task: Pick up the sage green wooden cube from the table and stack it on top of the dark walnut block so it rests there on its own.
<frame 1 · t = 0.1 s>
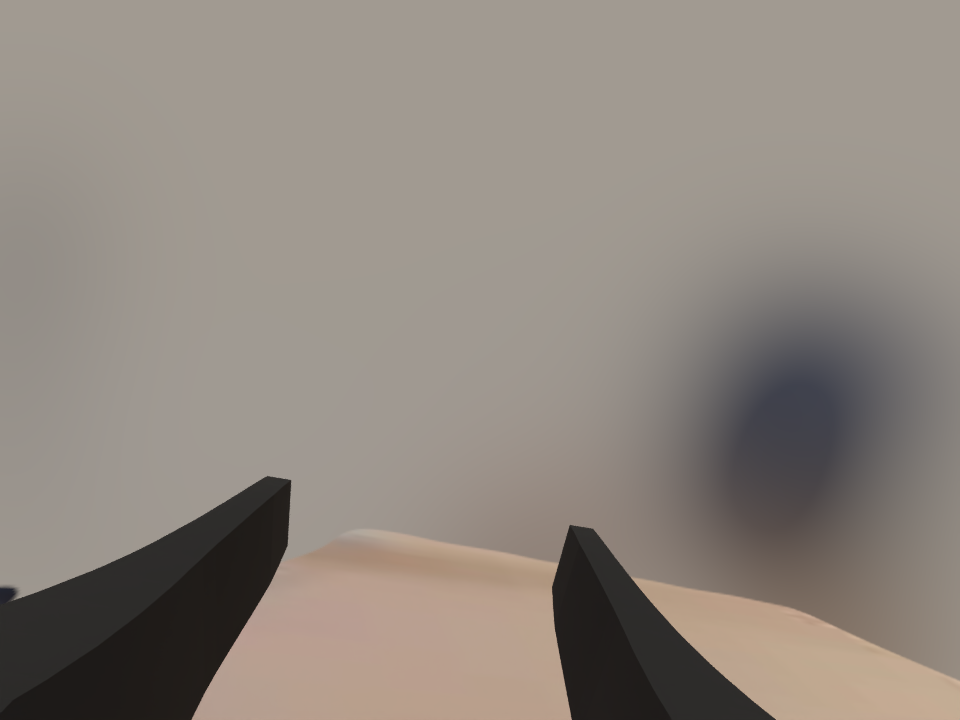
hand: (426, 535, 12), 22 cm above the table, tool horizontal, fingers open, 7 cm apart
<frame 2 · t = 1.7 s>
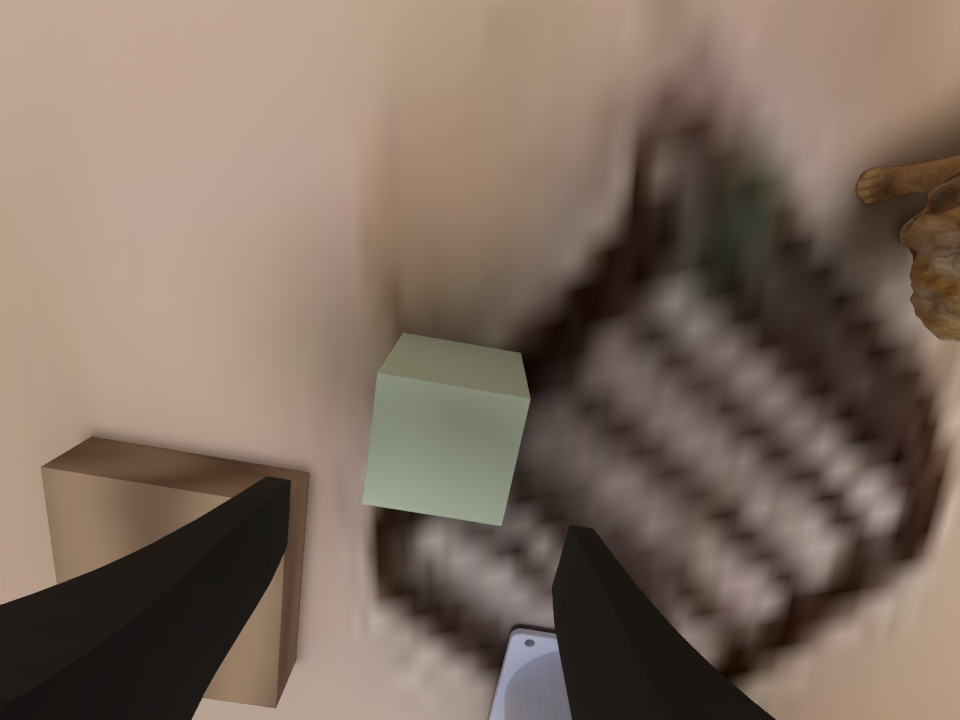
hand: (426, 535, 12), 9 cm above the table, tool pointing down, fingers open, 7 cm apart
walnut block: (207, 552, 24), on the table
sage cube: (453, 396, 21), on the table
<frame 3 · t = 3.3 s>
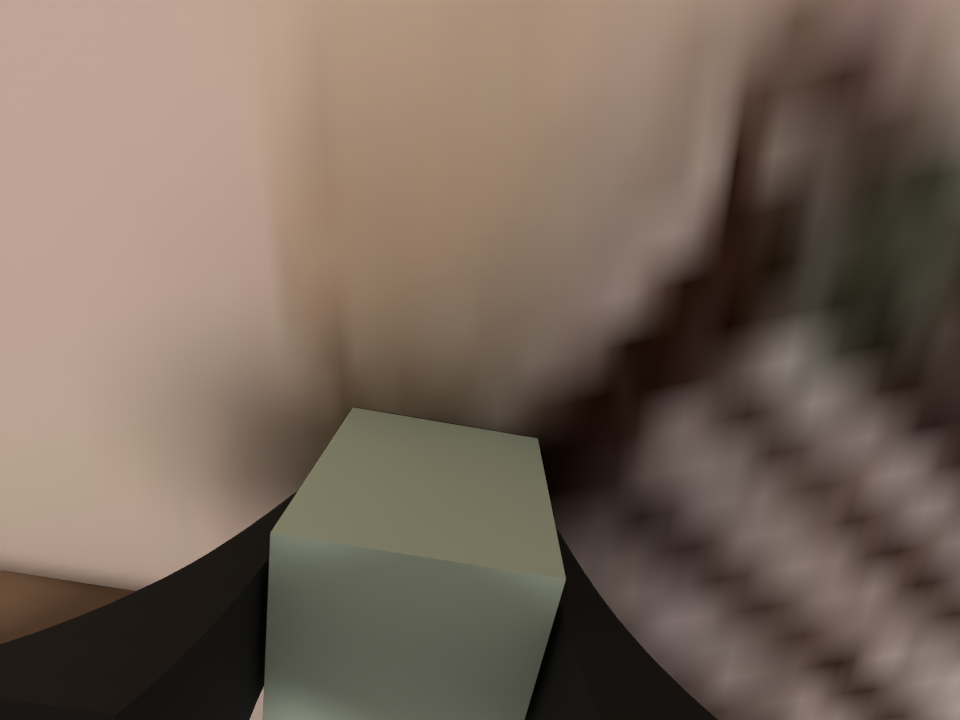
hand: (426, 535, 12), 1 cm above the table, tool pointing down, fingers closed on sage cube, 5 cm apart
walnut block: (87, 701, 17), on the table
sage cube: (432, 501, 13), on the table, touching gripper
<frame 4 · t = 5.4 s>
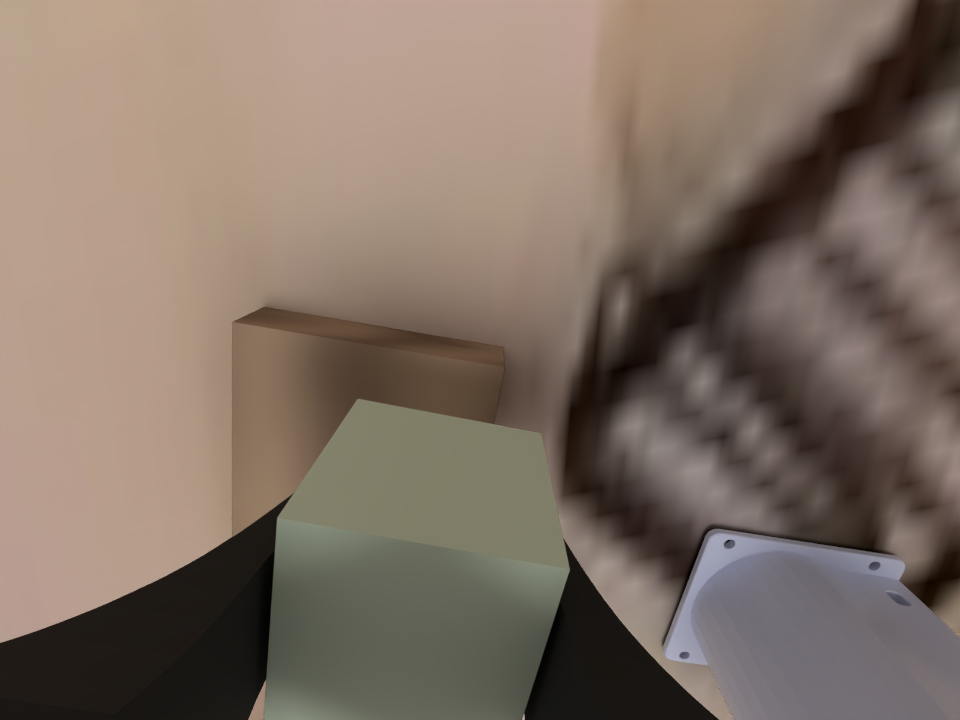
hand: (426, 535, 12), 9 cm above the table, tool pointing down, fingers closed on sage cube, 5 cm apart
walnut block: (373, 448, 22), on the table
sage cube: (435, 494, 14), point 7 cm above the table, touching gripper
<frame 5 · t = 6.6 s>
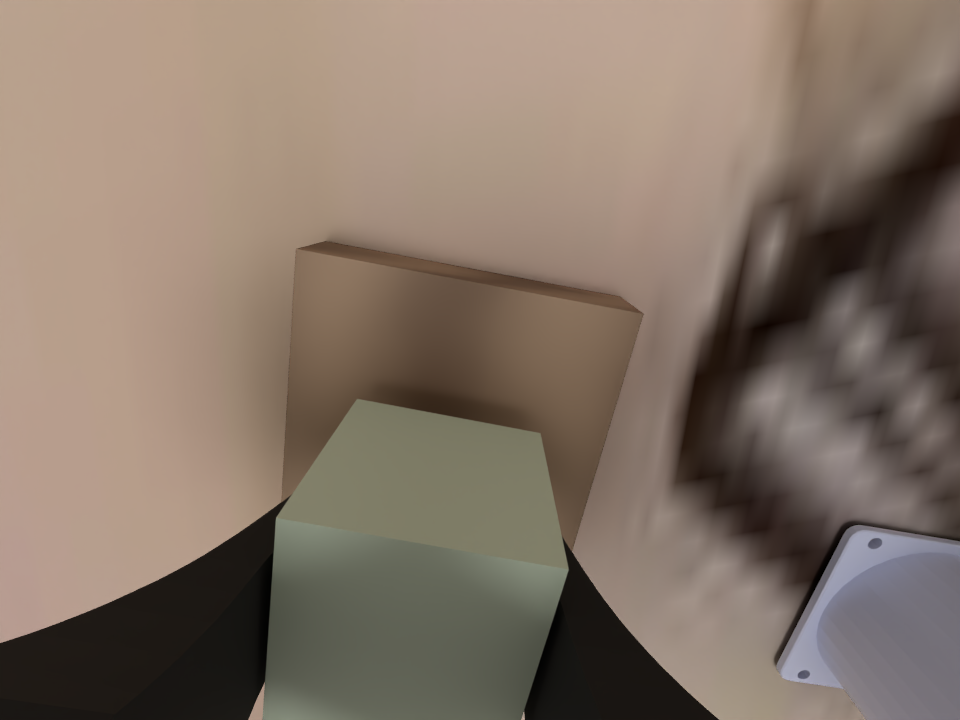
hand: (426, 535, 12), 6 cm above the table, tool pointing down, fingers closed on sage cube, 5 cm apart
walnut block: (447, 423, 18), on the table
sage cube: (434, 494, 14), point 4 cm above the table, touching gripper
when the fingers open (6 cm above the table, at t = 7.4 s): sage cube drops 2 cm, point 2 cm above the table.
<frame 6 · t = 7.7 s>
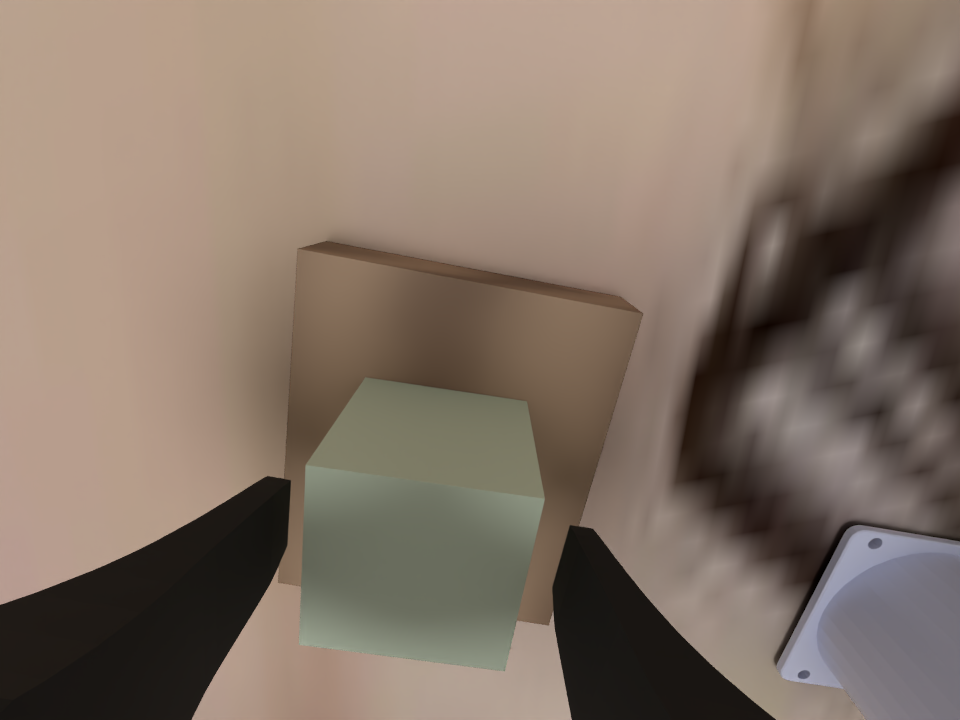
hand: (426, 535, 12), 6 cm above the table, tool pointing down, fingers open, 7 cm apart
walnut block: (447, 421, 18), on the table
sage cube: (436, 459, 15), point 2 cm above the table
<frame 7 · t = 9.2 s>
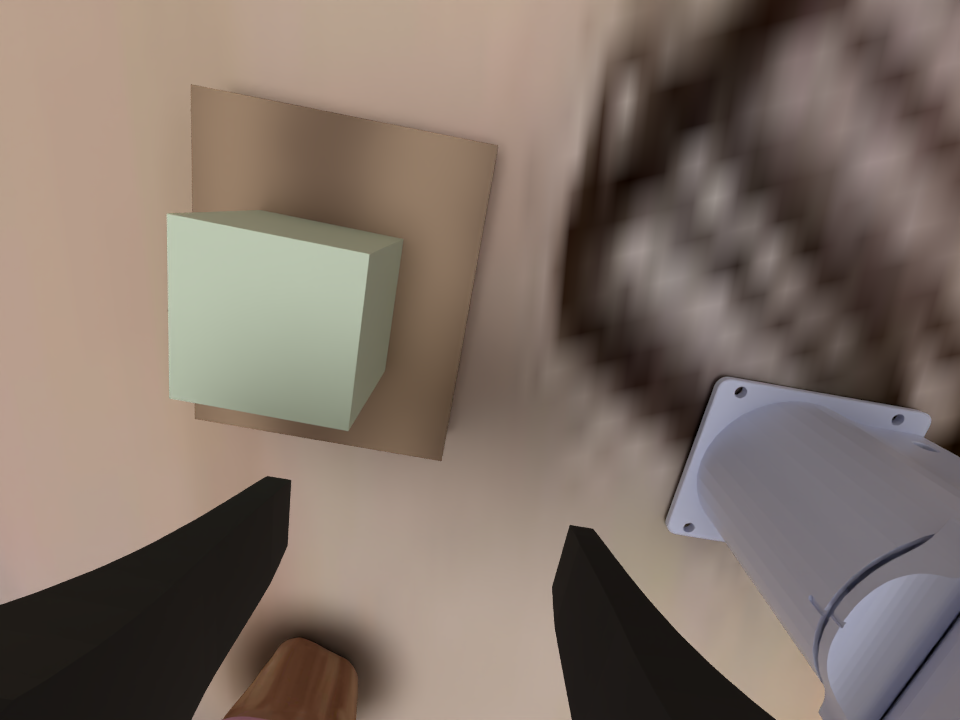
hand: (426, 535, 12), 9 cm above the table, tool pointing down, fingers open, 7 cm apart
walnut block: (353, 282, 20), on the table
cupcake: (316, 666, 27), on the table
sage cube: (325, 294, 17), point 2 cm above the table
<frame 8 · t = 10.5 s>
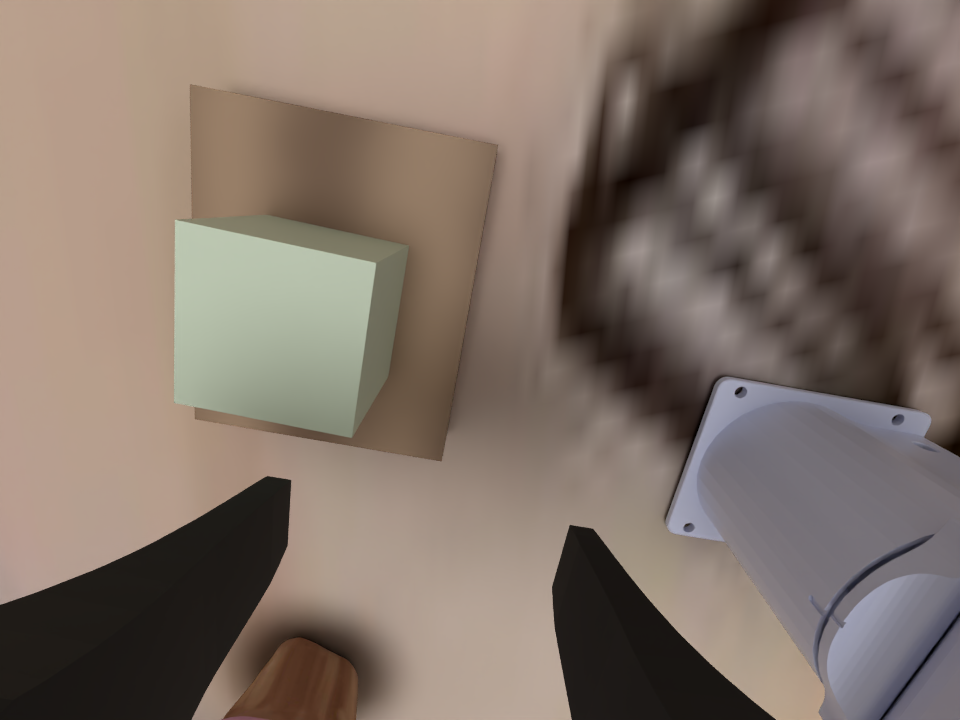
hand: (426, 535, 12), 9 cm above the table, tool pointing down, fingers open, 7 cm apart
walnut block: (353, 282, 20), on the table, touching sage cube
cupcake: (316, 666, 27), on the table
sage cube: (330, 299, 17), point 2 cm above the table, touching walnut block
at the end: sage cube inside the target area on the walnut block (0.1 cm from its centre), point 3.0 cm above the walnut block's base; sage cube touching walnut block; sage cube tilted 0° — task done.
